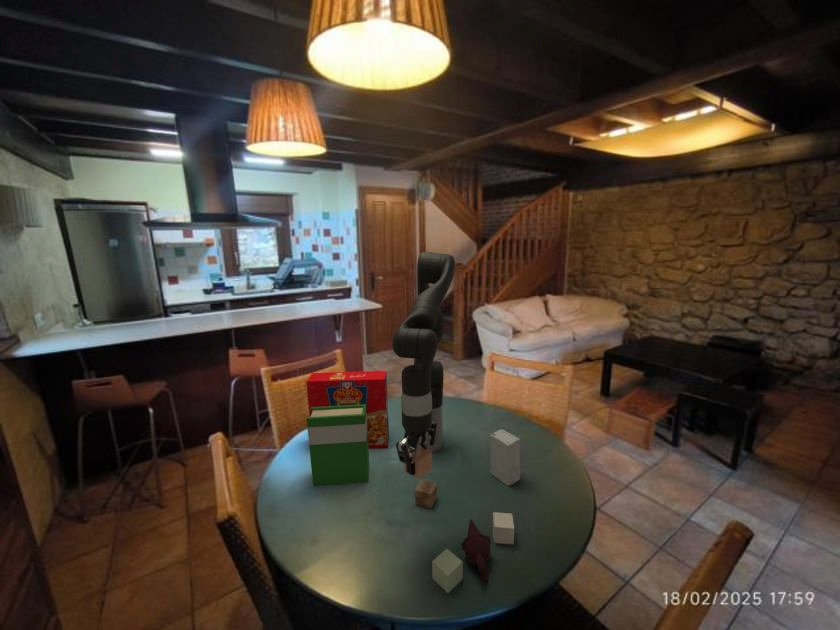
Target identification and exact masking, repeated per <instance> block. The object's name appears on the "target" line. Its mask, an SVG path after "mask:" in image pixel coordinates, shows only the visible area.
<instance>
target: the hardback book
mask: <svg viewBox="0 0 840 630" xmlns="http://www.w3.org/2000/svg"><path fill="white" fill-rule="evenodd" d="M306 428H307V434H308V435H307V437H308V446H309V448H308V449H309V457H310V459H309V460H310V467H311V469H310V470H311V477H312V487H324V486H338V485H349V484H350V485H353V484H361V483H362V484H363V483H364V484H365V483H366V484H367V483H369V480H370V452H369V450H370V449H368V432H367V414H366V404H360V405H343V406H326V407H311V417H310V416H307V417H306Z"/></svg>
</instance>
